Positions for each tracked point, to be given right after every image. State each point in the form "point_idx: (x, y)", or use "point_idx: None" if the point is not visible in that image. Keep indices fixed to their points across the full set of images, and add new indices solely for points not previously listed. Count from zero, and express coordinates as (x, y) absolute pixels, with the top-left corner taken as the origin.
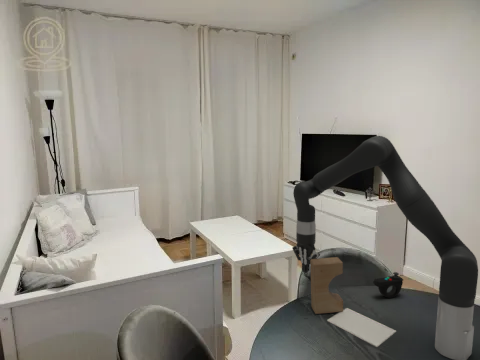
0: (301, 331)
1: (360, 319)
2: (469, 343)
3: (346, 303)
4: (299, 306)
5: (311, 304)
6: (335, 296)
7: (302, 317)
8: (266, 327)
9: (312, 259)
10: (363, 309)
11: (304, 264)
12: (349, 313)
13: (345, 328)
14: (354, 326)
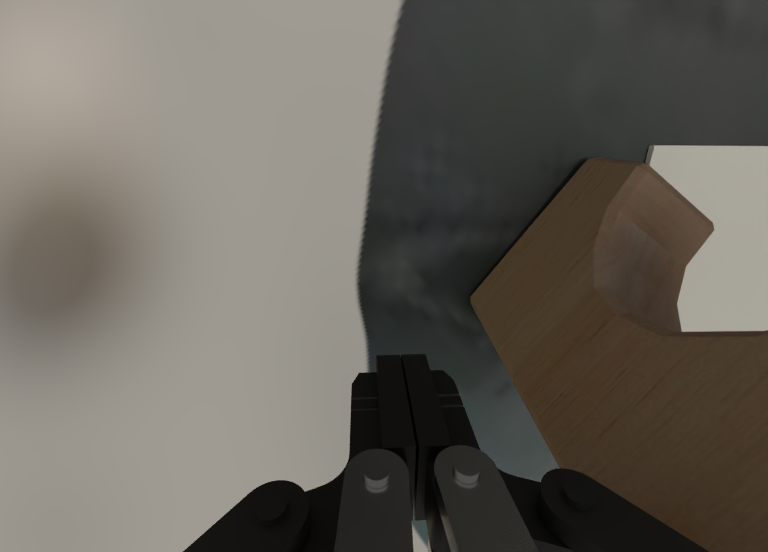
0: (544, 463)
1: (762, 200)
2: None
3: (621, 78)
4: (410, 339)
5: (475, 311)
6: (660, 240)
7: (487, 396)
8: (421, 533)
9: None
10: (748, 57)
11: (426, 515)
12: (688, 193)
13: (709, 329)
14: (744, 282)
